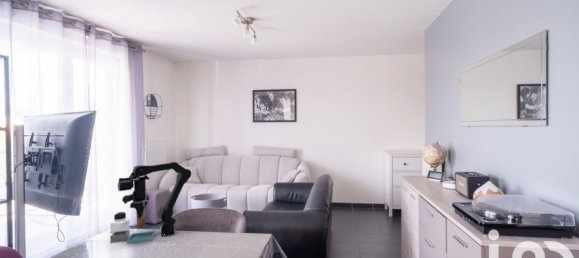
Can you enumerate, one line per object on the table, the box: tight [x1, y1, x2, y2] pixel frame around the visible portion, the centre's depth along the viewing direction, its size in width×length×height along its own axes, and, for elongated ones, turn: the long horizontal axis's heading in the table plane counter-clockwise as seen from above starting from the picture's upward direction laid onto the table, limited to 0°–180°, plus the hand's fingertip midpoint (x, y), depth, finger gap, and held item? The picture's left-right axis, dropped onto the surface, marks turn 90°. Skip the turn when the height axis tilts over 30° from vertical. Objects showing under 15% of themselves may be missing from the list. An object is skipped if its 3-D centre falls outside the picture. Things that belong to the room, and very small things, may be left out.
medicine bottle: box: [110, 211, 130, 234], centre depth 171 cm, size 7×7×12 cm
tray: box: [126, 231, 156, 245], centre depth 157 cm, size 12×12×2 cm
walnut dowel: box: [136, 208, 146, 229], centre depth 157 cm, size 4×4×10 cm
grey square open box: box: [110, 229, 131, 244], centre depth 156 cm, size 8×8×4 cm
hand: (140, 216), depth 157 cm, fingers closed on walnut dowel, 4 cm apart
